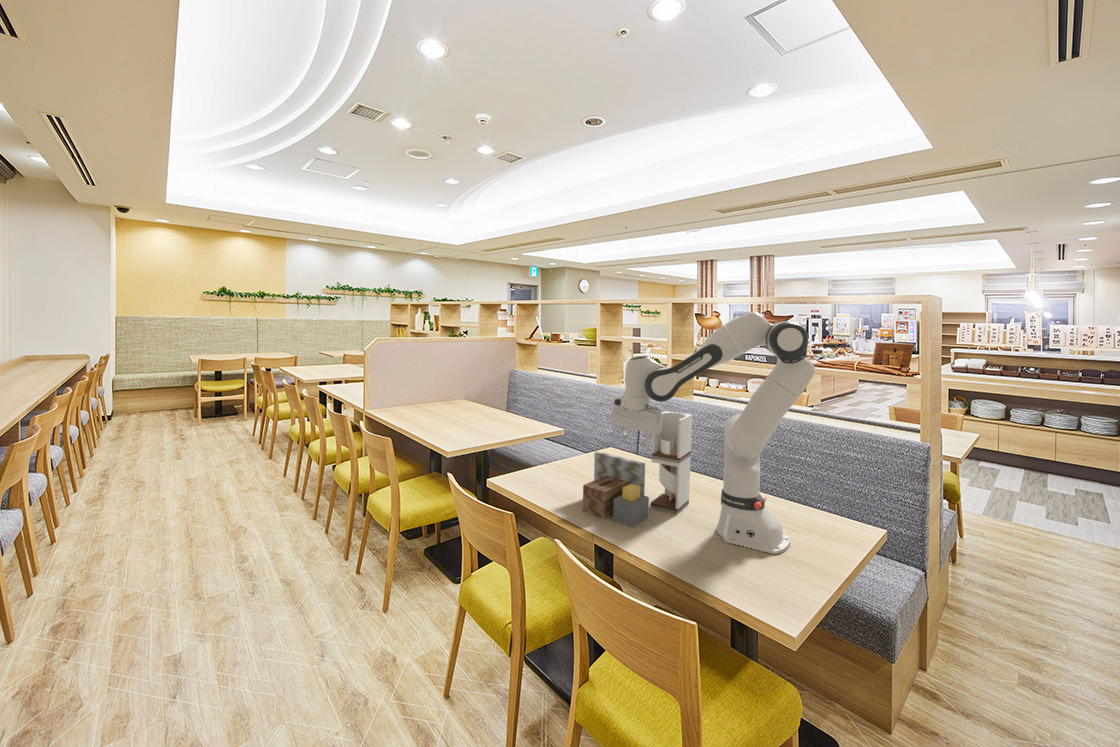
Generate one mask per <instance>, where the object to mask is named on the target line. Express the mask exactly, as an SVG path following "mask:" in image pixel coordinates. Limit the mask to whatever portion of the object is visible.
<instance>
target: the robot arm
mask: <svg viewBox="0 0 1120 747" xmlns="http://www.w3.org/2000/svg"><path fill="white" fill-rule="evenodd" d="M760 346H762V347H763V348H765V349H766V350H767V351H769V352H770V353H771V354H772V355H775V357H776V363H775V366H774V368H773V369H772V371H770V373H769V374H768V375H767V377H766V378H765V379H764V380H763V381H762V383H761V384H759V386H758V387H757V388H756V390H755V391H754V392H753V394H752V395H751V397H750V399H749V400H748V403H747V405H746V406H745V407H744V409H743V411H742V412H741V413H737V414H733V415H732V416H731V417H729V418H728V419H727V421H726V423H725V425H724V443H723V445H724V448H723V449H724V452H723V488H722V489H721V495H720V505H721V509H720V513H719V519H718V522H717V525H716V526H715V531H716V533H717V534H718V535H719V536H720V537H722V540H723V541H724V542H725V543H727V542H728V543H727V544H730V543H732V544H731V545H734V544H736V545H735V546H738V545H740V547H742V546H744V547H743V548H746V547H748V548H747V549H751V548H752V550H755V549H756V550H755V551H759V550H760V551H759V552H763V551H764V553H767V552H768V554H771V553H772V555H777V554H781V553H783V552H785V551H787V549H789V547H790V545H791V539H790V537H789V536H788V535H786V534H784V533H783V525H782V522H781V521H780V519H778V518H777V517H776V516H775V515H774V514H773V513H772V512H770V510H769V509H768V508H767V507H766V506H765V505H766V503H765V502H766V501H767V497H766V496H765V497H764V498H763V496H761V494H760V484H761V483H760V482H761V481H760V480H761V462H760V460H761V459H760V458H761V457H760V455H761V454H762V452H763V451H764V449H765V446H766V444H767V443H768V441H769V440H770V439H771V438H772V435H773V433H774V432H775V431H776V429H777V427H778V425H779V424H780V423H781V420H782V419H783V418H784V416H785V415H786V414H787V413H788V412H789V411H790V409H791V407H793V405H794V404H795V403H796V402H797V401H798V399H799V398H800V397H801V395H802V394H803V393H804V392H805V390H806V388H807V387H808V385H809V383H810V382H811V381H812V379H813V377H814V375H815V373H816V371H815V370H816V367H815V365H814V363H813V361H811V360H810V359H809V358H808V357H807V352H808V346H809V334H808V331H807V330H806V328H805V327H804V326H803V325H801V324H800V323H798V322H796V321H788V320H784V321H779V322H773V323H770V322H769V321H768V320H767V318H766V317H765V316H764V315H763V314H761V313H759V312H756V311H750V312H747V313H745V314H743V315H740V316H738V317H736V318H733V319H732V320H729V321H728V322H727V323H724V324H723V325H722V326H720V327H719V328H717V329H716V330H714V331H713V332H712V333H711V334H709V336H708V337H707V338H706V339H705V340H704V342H703V343H702V344H701V346H700V347H699V348H698V349H697V350H696V351H694V353H693V354H691V355H689V356H688V357H686V358H685V359H683V360H681V361H679V362H678V363H677V364H675V365H673V366H671V367H669V366H666V365H664V364H661V363H659V362H657V361H656V360H654V359H652V358H651V356H648V355H640V356H633V357H631V358H630V359H628V361H627V363H626V365H625V373H624V374H625V375H624V376H625V377H624V383H625V390H624V394H623V396H621V397H616V398H613V399H612V405H613V406H612V408H611V416H610V418H611V420H610V421H611V422H612V424H613V425H616V426H619V430H620V433H621V438H622V439H623V440H627V439H629V433H627V430H626V429H627V428H628V429H630V430H635V431H638V432H642V433H644V435H645V438H644V439H642V445H644V446H649V445H650V439H652V435H656V434H660V433H661V432H662V418H661V413H662V411H661V409H660V408H659V407H658V406H654V405H650V404H651V400H654V401H656V402H667V401H669V400H671V399H672V398H673V397H674V396H675V395H676V393H677V392H678V391H679V389H680V388H681V386H682V385H684V384H686V383H687V382H689V381H690V380H692V379H693V378H695V377H696V376H698V375H700V374H702V373H703V372H704V371H707V370H709V369H711V368H713V367H716V366H719V365H722V364H725V363H727V362H730V361H731V360H734V359H736V358H739V357H740V356H742V355H743V354H745V353H747V352H749V351H750V350H753V349H754V348H756V347H760Z"/></svg>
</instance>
